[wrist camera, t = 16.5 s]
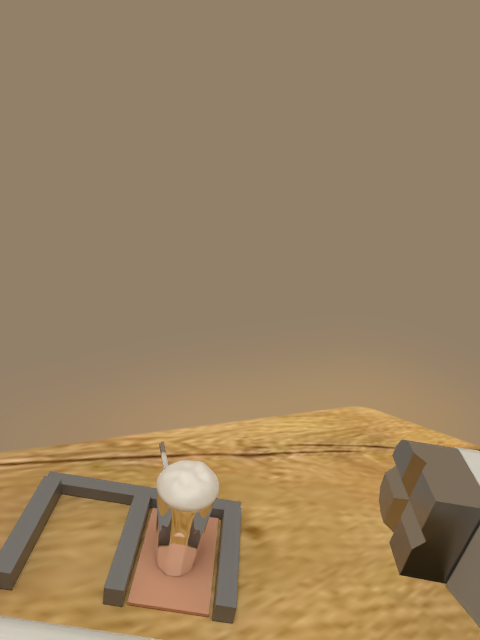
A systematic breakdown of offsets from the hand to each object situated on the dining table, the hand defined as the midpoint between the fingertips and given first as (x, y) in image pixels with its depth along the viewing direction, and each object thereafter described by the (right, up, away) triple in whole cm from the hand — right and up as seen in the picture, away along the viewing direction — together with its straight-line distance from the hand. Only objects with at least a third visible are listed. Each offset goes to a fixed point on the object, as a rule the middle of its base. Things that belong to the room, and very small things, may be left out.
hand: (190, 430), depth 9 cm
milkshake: (-5, -17, +28) cm, 33 cm away
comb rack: (-8, -17, +28) cm, 33 cm away
